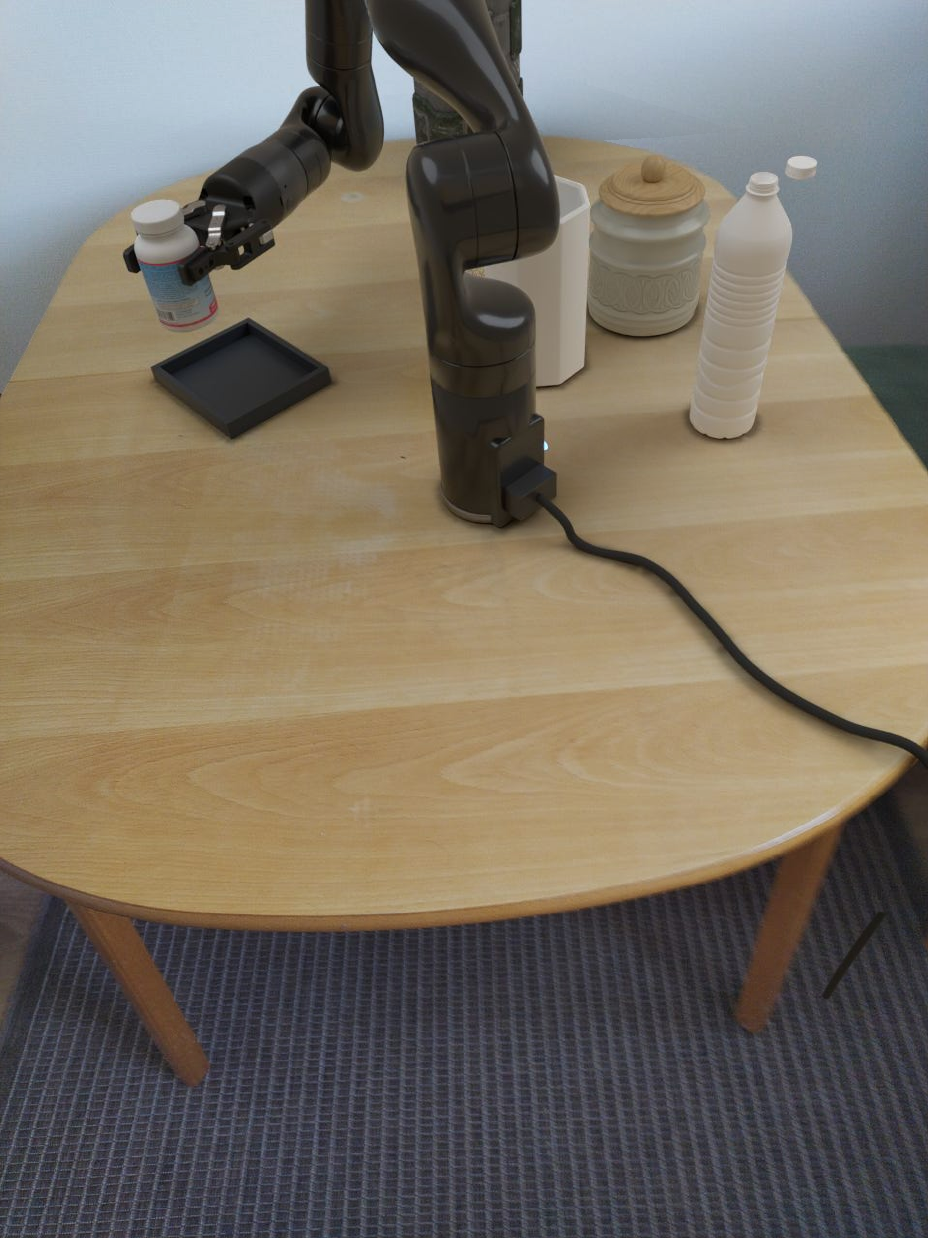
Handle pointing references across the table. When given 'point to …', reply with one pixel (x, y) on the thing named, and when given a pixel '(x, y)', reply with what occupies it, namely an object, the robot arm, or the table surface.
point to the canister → (438, 115)
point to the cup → (557, 288)
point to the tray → (241, 376)
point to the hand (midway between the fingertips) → (155, 270)
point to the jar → (647, 248)
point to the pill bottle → (171, 267)
